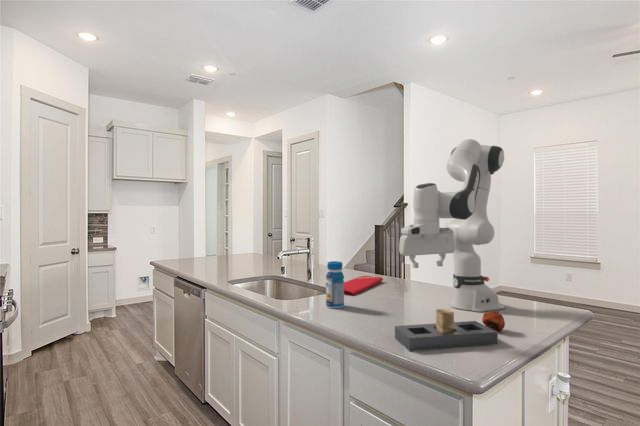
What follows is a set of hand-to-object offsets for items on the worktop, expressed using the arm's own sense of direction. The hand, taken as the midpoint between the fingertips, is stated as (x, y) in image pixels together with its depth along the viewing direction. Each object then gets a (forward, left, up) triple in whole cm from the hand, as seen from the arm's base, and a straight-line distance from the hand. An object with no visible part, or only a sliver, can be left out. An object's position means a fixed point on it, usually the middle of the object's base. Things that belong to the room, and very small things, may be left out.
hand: (427, 266), depth 131 cm
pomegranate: (-22, +5, -23) cm, 32 cm away
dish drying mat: (+5, -77, -24) cm, 81 cm away
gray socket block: (0, +11, -23) cm, 25 cm away
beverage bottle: (+26, -39, -23) cm, 52 cm away
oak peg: (0, +11, -23) cm, 25 cm away
